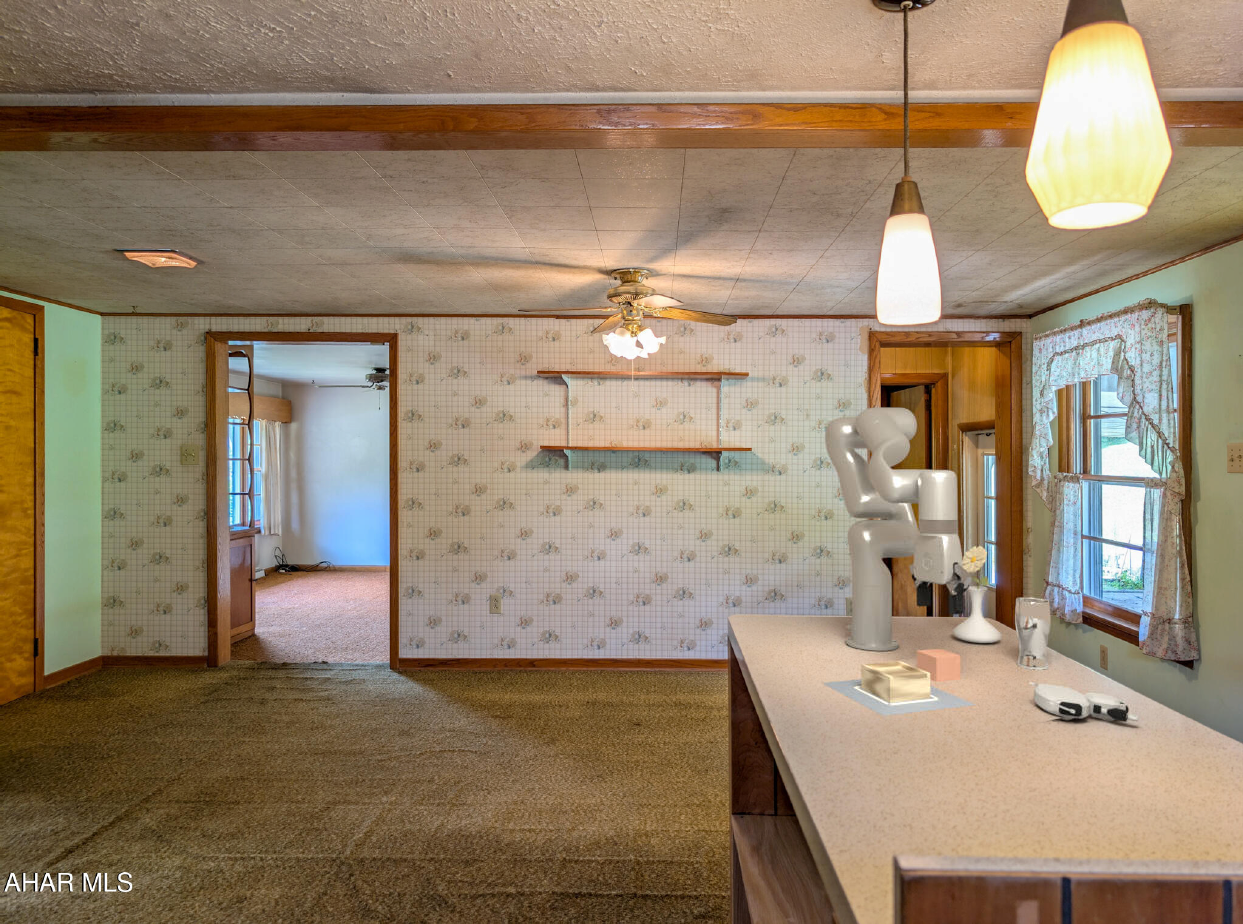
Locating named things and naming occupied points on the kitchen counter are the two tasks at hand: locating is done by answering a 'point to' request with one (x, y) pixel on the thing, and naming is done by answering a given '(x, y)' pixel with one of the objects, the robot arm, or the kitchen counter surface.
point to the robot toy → (1080, 704)
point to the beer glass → (1032, 631)
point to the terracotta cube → (940, 664)
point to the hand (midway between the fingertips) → (939, 609)
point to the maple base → (895, 681)
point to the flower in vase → (976, 603)
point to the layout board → (884, 708)
